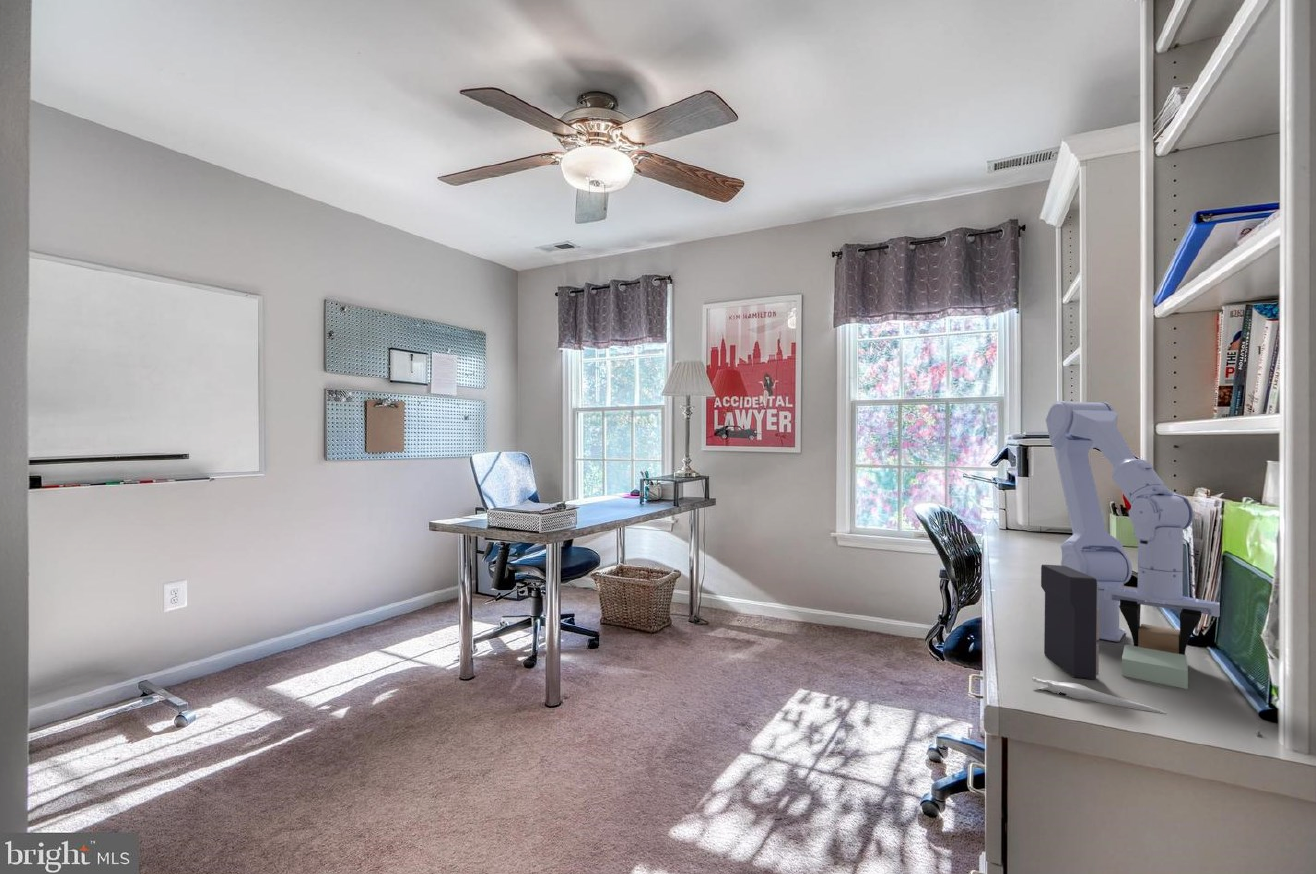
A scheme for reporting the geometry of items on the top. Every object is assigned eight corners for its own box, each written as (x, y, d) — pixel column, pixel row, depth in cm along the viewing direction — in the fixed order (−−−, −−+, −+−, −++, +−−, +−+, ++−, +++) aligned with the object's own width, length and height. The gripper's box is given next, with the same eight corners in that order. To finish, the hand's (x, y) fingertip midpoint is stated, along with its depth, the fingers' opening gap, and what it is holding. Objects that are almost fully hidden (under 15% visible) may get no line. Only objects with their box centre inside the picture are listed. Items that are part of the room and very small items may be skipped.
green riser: (1124, 663, 100) (1124, 644, 100) (1186, 674, 96) (1186, 655, 96) (1121, 678, 93) (1121, 658, 94) (1187, 691, 89) (1187, 670, 89)
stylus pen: (1031, 690, 87) (1032, 677, 87) (1031, 685, 89) (1032, 672, 89) (1168, 723, 79) (1169, 709, 79) (1165, 716, 81) (1166, 702, 81)
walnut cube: (1141, 653, 104) (1141, 623, 104) (1180, 660, 101) (1180, 630, 101) (1138, 660, 101) (1138, 629, 101) (1178, 668, 97) (1178, 636, 97)
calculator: (1102, 681, 91) (1103, 579, 91) (1069, 678, 92) (1070, 577, 92) (1068, 656, 102) (1069, 565, 102) (1039, 654, 103) (1040, 563, 103)
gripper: (1101, 564, 103) (1101, 646, 103) (1219, 578, 93) (1218, 669, 93) (1108, 559, 108) (1107, 637, 108) (1219, 572, 98) (1219, 658, 98)
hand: (1159, 651), depth 101 cm, fingers closed on walnut cube, 5 cm apart
